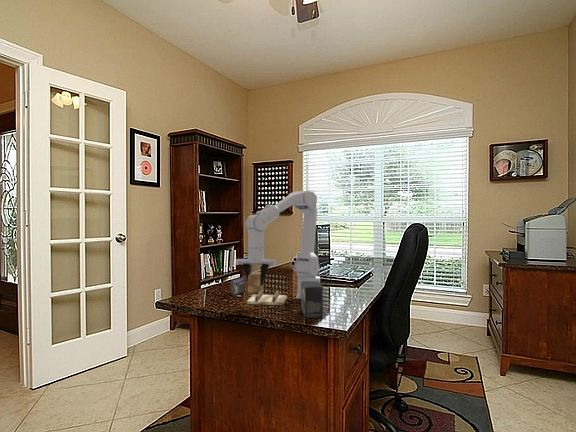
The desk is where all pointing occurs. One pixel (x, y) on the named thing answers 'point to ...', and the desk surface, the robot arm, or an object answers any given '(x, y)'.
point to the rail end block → (254, 282)
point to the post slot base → (267, 299)
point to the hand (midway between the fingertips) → (255, 284)
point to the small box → (312, 299)
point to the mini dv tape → (237, 286)
